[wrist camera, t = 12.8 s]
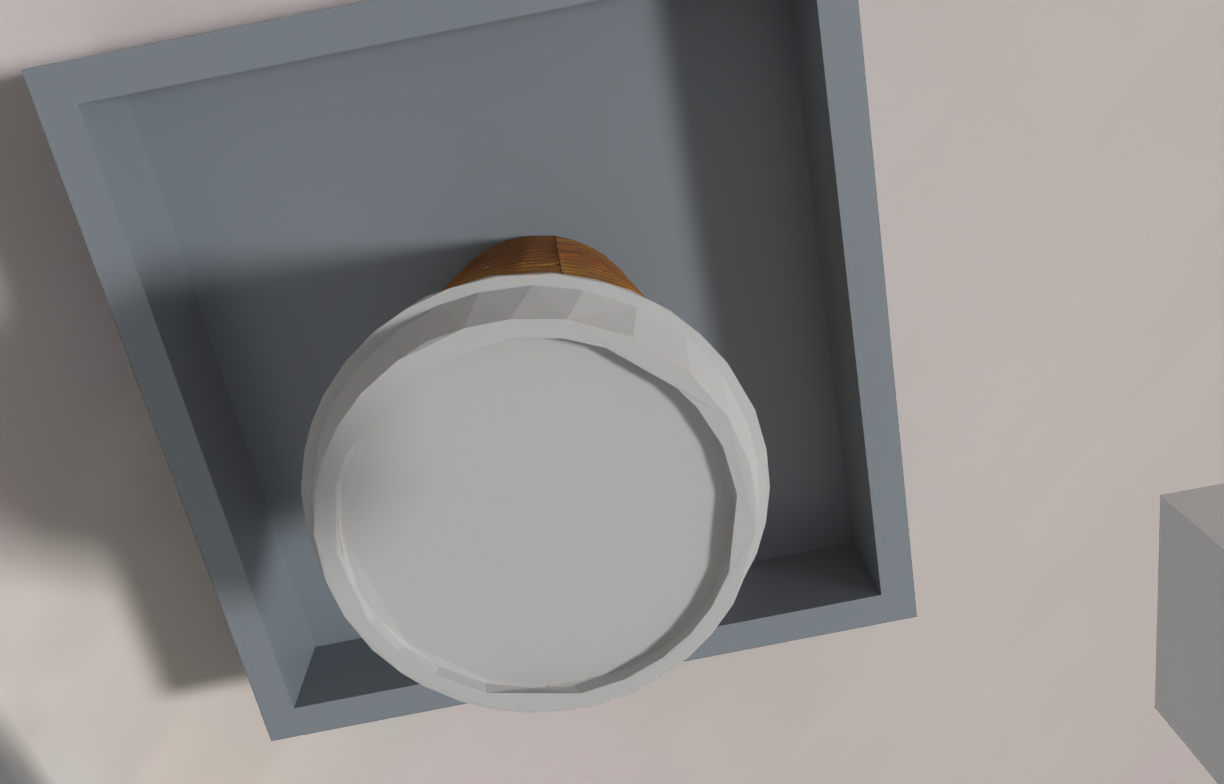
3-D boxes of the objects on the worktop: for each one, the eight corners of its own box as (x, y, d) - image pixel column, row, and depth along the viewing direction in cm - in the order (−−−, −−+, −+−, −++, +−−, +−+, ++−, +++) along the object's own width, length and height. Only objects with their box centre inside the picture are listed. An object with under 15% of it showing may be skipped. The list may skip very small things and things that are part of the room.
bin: (87, 59, 29) (20, 69, 25) (809, -86, 29) (849, -96, 25) (299, 663, 36) (271, 740, 33) (878, 551, 36) (916, 616, 32)
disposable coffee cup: (645, 132, 30) (704, 220, 19) (737, 428, 33) (831, 653, 22) (328, 240, 30) (200, 388, 19) (449, 520, 34) (400, 785, 23)
